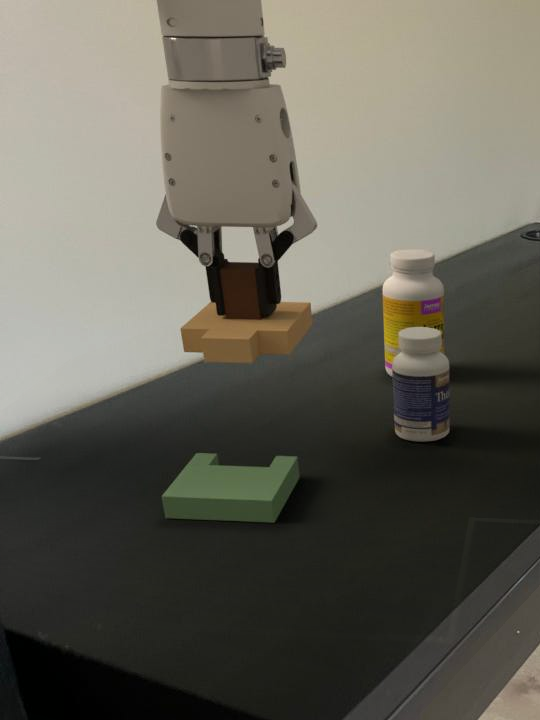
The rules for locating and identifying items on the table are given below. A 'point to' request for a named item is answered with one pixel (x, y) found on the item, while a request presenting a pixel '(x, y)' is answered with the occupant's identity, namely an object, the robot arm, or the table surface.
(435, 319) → the supplement bottle
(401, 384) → the pill bottle
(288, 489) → the green pad
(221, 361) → the tan pad
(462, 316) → the table surface
